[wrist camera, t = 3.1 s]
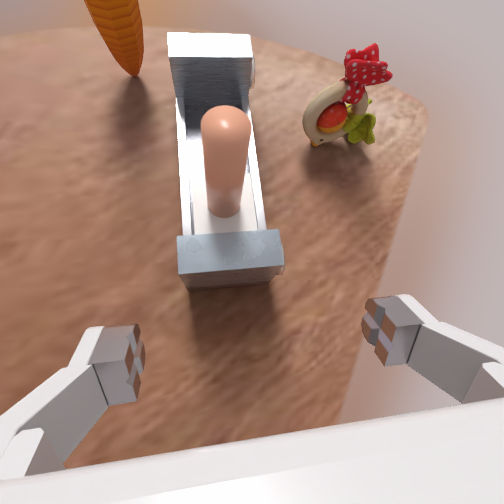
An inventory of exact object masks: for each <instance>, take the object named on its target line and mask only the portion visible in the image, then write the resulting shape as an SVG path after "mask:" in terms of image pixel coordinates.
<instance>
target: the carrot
mask: <svg viewBox="0 0 504 504" xmlns="http://www.w3.org/2000/svg"><path fill="white" fill-rule="evenodd" d="M84 1H85V3H86V6H87V8H88V10H89V12H90V14H91V17H92V19H93V21H94V23H95V25H96V27H97V29H98V31H99V32H100V34H101V36H102V38H103V39H104V41H105V43H106V45H107V46H108V48H109V50H110V52H111V53H112V55H113V56H114V58H115V60H116V61H117V62H118V63H119V64H120V66H121V67H122V68H123V69H124V70H125V71H126V72H128V73H129V74H130V75H132V76H137V75H138V74H139V71H140V68H141V64H142V60H143V53H144V44H143V27H142V20H141V15H140V10H139V4H138V0H84Z"/></svg>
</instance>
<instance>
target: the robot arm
mask: <svg viewBox="0 0 504 504" xmlns="http://www.w3.org/2000/svg"><path fill="white" fill-rule="evenodd" d="M365 309H366V310H367V313H366V314H365V315H364V316H363V317H362V323H361V326H362V332H363V335H364V337H365V339H366V340H367V342H368V343H370V344H372V345H374V346H375V353H376V355H377V356H378V358H379V359H380V360H381V362H382V363H383V365H384V366H392V365H402V364H407V365H408V366H409V367H411V368H412V369H413V370H415V371H416V372H418V373H419V374H421V375H422V376H424V377H425V378H427V379H428V380H429V381H431V382H432V383H434V384H435V385H436V386H438V387H439V388H441V389H442V390H444V391H445V392H446V393H448V394H449V395H451V396H452V397H454V398H455V399H456V400H458V401H459V402H461V404H460V405H454V406H448V407H442V408H436V409H429V410H423V411H418V412H412V413H405V414H399V415H394V416H387V417H382V418H375V419H370V420H364V421H358V422H352V423H346V424H340V425H333V426H327V427H321V428H315V429H309V430H303V431H297V432H291V433H285V434H279V435H273V436H266V437H260V438H254V439H248V440H242V441H236V442H230V443H224V444H218V445H212V446H206V447H200V448H194V449H188V450H182V451H175V452H169V453H163V454H157V455H151V456H145V457H139V458H133V459H127V460H121V461H115V462H109V463H103V464H97V465H91V466H85V467H79V468H73V469H67V470H66V469H65V467H64V465H63V463H64V462H65V460H66V459H67V458H68V457H69V455H70V454H71V453H72V452H73V450H74V449H75V448H76V447H77V446H78V444H79V443H80V442H81V441H82V439H83V438H84V437H85V436H86V434H87V433H88V432H89V431H90V429H91V428H92V427H93V426H94V425H95V423H96V422H97V421H98V420H99V418H100V417H101V416H102V415H103V413H104V412H105V411H106V410H107V409H108V406H110V405H116V404H122V403H128V402H134V401H137V398H138V394H139V389H140V384H141V381H140V377H139V375H140V374H141V373H142V372H143V370H144V365H145V348H144V344H143V342H142V341H141V340H140V339H139V337H140V333H141V331H140V328H139V325H138V324H137V323H132V324H120V325H108V326H99V327H89V328H88V329H87V330H86V331H85V332H84V334H83V336H82V338H81V340H80V343H79V345H78V347H77V349H76V351H75V353H74V355H73V357H72V359H71V361H70V363H69V365H68V367H67V368H62V369H60V370H59V371H58V372H56V373H55V374H54V375H53V376H51V377H50V378H49V379H47V380H46V381H45V382H44V383H42V384H41V385H40V386H38V387H37V388H36V389H35V390H33V391H32V392H31V393H29V394H28V395H27V396H26V397H24V398H23V399H22V400H20V401H19V402H18V403H17V404H15V405H14V406H13V407H11V408H10V409H9V410H8V411H6V412H5V413H4V414H2V415H1V416H0V504H504V348H503V347H500V346H498V345H496V344H493V343H491V342H489V341H487V340H484V339H482V338H480V337H477V336H475V335H473V334H470V333H468V332H466V331H463V330H461V329H459V328H456V327H454V326H452V325H449V324H447V323H445V322H438V321H437V320H436V319H435V318H434V317H433V316H432V315H431V314H430V313H429V312H428V311H427V310H426V309H425V308H423V307H422V306H421V305H420V304H419V303H418V302H417V301H416V300H415V299H414V298H413V297H412V296H410V295H408V294H402V295H395V296H388V297H380V298H371V299H368V300H367V301H366V304H365Z"/></svg>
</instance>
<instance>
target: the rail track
mask: <svg viewBox="0 0 504 504" xmlns="http://www.w3.org/2000/svg"><path fill="white" fill-rule="evenodd" d="M168 52H169V61H170V66H171V72H172V78H173V83H174V89H175V95H176V108H177V128H178V148H179V167H180V187H181V207H182V226H183V236H177V254H178V274H179V276H180V278H181V279H182V281H183V283H184V284H185V286H186V288H187V289H188V291H195V290H205V289H216V288H226V287H237V286H247V285H258V284H268V283H269V282H270V281H271V280H272V279H273V278H274V276H275V275H282V274H283V273H284V267H285V258H284V250H283V245H282V242H281V240H280V234H279V229H270V230H266V222H265V215H264V208H263V201H262V193H261V186H260V179H259V172H258V164H257V157H256V150H255V143H254V135H253V128H252V131H251V138H250V144H249V151H248V157H247V164H246V170H245V173H250V174H251V182H252V190H253V197H254V205H255V213H256V221H257V228H258V230H256V231H241V232H227V233H213V234H198V235H195V230H194V215H193V199H192V183H191V175H205V170H204V158H203V147H202V135H201V120H202V118H203V116H204V114H205V113H206V112H207V111H208V110H210V109H212V108H214V107H217V106H223V105H227V106H233V107H236V108H238V109H240V110H242V111H243V112H244V113H245V114H246V115H247V116H248V117H249V119H250V121H251V114H250V106H249V99H248V94H249V89H253V88H254V84H255V59H254V55H252V48H251V42H250V35H249V34H208V33H168ZM251 125H252V121H251Z"/></svg>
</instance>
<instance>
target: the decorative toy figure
mask: <svg viewBox="0 0 504 504" xmlns="http://www.w3.org/2000/svg"><path fill="white" fill-rule="evenodd" d="M344 65H345V69H346V70H345V78H343V79H341V80H340V81H339V82H337V83H334V84H332V85H330V86H328V87H327V88H325V89H324V90H322V91H321V92H320V93H319V94H317V95H316V96H315V97H314V98H313V99H312V101H311V102H310V103H309V105H308V106H307V108H306V110H305V112H304V115H303V121H302V123H303V128H304V131H305V133H306V135H307V137H308V138H309V139H310V141H311V144H312V145H313V146H314V147H316V146H318V145H320V144H322V143H325V142H330V141H333V140H335V139H338V138H340V137H342V136H343V135H345V134H347V133H348V141H349V142H351V143H353V144H355V143H357V142H359V141H360V140H363V141H365V142H366V143H367V144H368V145H369V144H372V143H375V138H374V135H373V131H372V129H373V127H374V125H375V122H376V118H375V115H374V114H370V113H366V110H367V107H368V104H371V102H372V100H371V99H368V95H367V92H366V90H365V87H364V86H369V85H376V84H380V83H384V82H387V81H389V80H390V79H391V78H392V73H391V72H389V71H387V70H386V69H387V66H388V64H387V63H386V62H381V61H379V49H378V45H377V44H376V43H374V44H372V45H370V46H368V47H367V48H365V49H364V50H362V51H359V50H356V49H351V50H349V51H347V53H346V56H345V59H344ZM344 102H346V103H348V104H349V105H346V104H345V103H344Z"/></svg>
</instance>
